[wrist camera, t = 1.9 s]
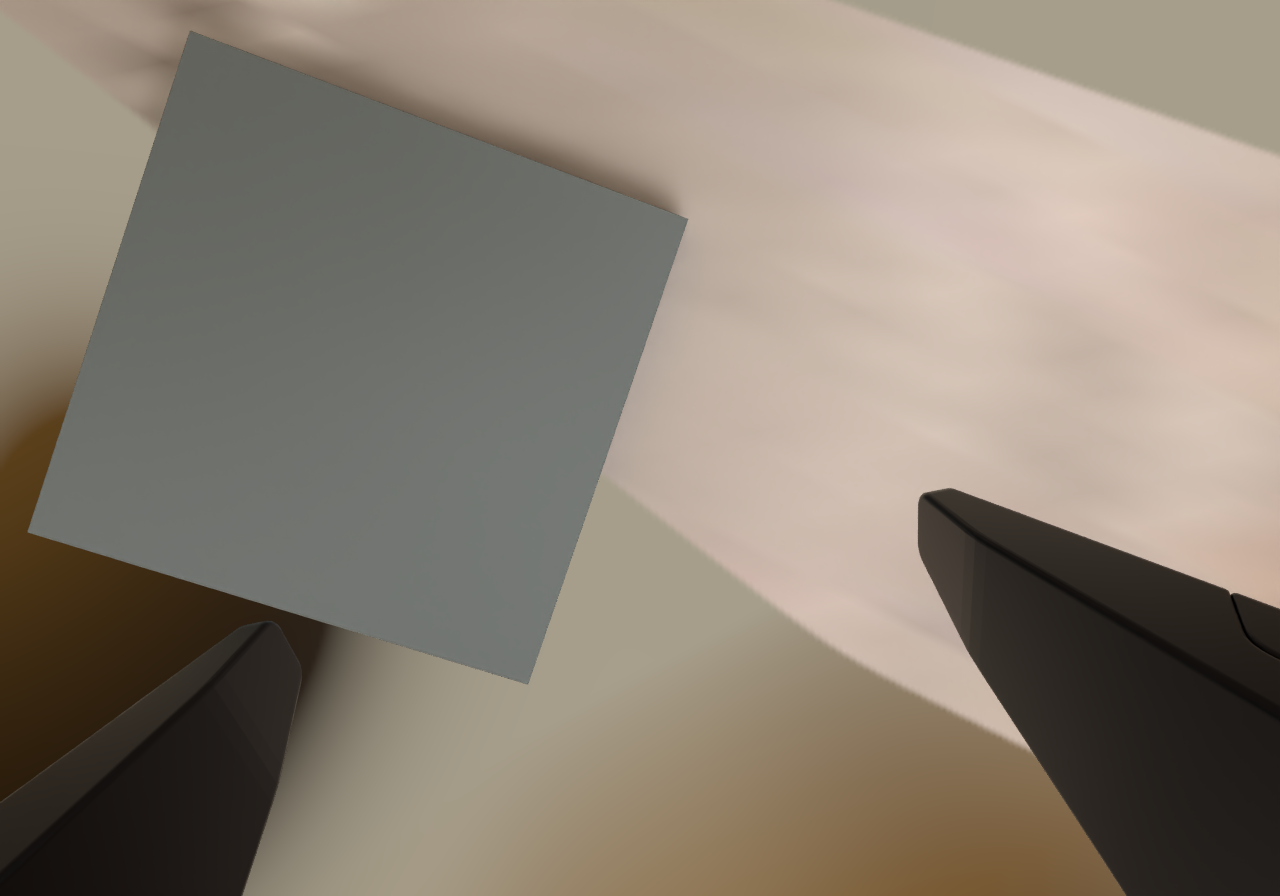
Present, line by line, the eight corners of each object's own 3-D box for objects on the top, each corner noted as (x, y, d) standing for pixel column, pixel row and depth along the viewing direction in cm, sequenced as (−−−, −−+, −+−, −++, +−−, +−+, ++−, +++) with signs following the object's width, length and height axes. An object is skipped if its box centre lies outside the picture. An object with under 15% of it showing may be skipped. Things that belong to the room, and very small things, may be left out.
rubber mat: (530, 671, 21) (528, 684, 20) (56, 526, 19) (27, 532, 18) (683, 228, 20) (687, 219, 19) (210, 50, 19) (190, 30, 18)
